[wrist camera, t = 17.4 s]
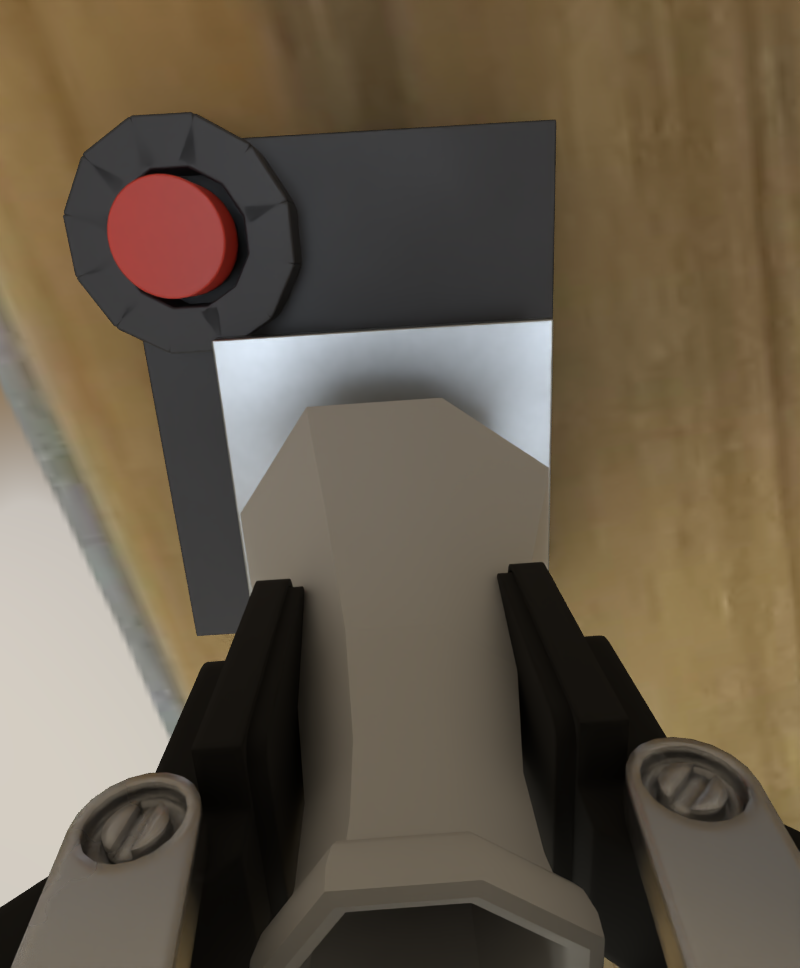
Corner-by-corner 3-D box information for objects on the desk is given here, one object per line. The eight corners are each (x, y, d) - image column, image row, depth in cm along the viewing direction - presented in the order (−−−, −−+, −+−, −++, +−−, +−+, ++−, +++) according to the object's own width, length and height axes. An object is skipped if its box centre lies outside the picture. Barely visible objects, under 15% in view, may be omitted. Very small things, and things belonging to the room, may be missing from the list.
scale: (93, 141, 18) (41, 120, 16) (544, 115, 19) (574, 88, 16) (183, 617, 23) (156, 665, 21) (538, 593, 24) (560, 638, 21)
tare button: (119, 184, 16) (94, 176, 15) (230, 177, 16) (216, 169, 15) (140, 299, 17) (118, 302, 16) (245, 292, 17) (233, 295, 16)
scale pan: (215, 337, 17) (210, 339, 17) (549, 317, 18) (554, 318, 17) (258, 630, 20) (255, 639, 20) (544, 611, 20) (548, 619, 20)
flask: (274, 351, 14) (34, 558, 4) (597, 435, 14) (1017, 767, 5) (215, 643, 16) (-29, 1214, 6) (498, 702, 17) (658, 1286, 7)
